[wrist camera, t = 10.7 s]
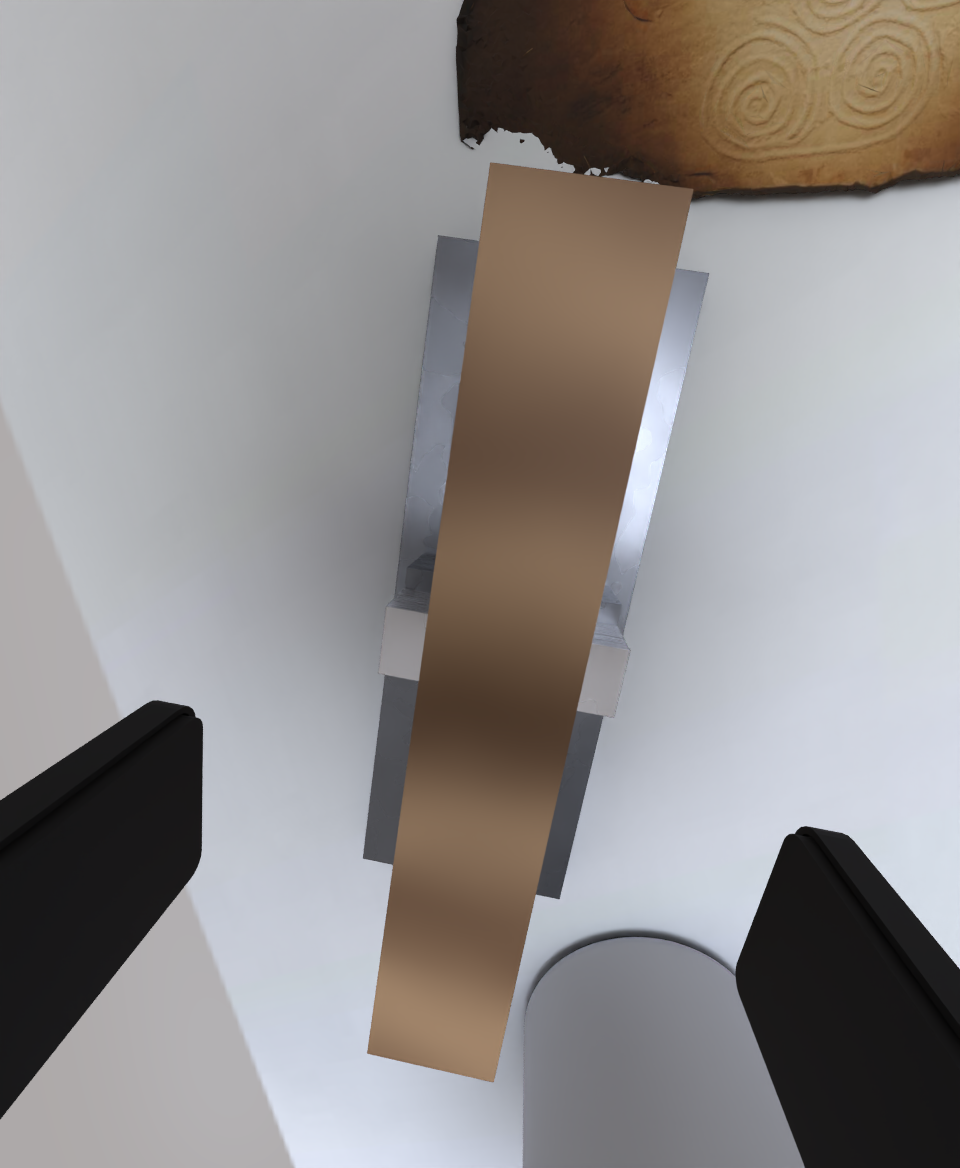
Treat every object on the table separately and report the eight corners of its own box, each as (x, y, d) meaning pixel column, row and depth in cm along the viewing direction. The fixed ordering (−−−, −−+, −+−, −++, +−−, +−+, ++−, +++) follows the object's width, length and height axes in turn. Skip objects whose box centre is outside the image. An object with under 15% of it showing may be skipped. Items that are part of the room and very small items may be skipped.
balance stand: (443, 248, 20) (402, 146, 14) (698, 284, 20) (782, 196, 13) (370, 841, 27) (319, 961, 20) (558, 879, 26) (567, 1016, 20)
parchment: (1262, -181, 16) (1303, -219, 15) (1171, 185, 18) (1204, 170, 17) (459, -89, 18) (456, -116, 17) (461, 221, 20) (458, 209, 19)
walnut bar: (501, 245, 14) (490, 162, 10) (647, 265, 14) (693, 189, 10) (398, 937, 20) (367, 1053, 16) (500, 960, 20) (493, 1082, 16)
